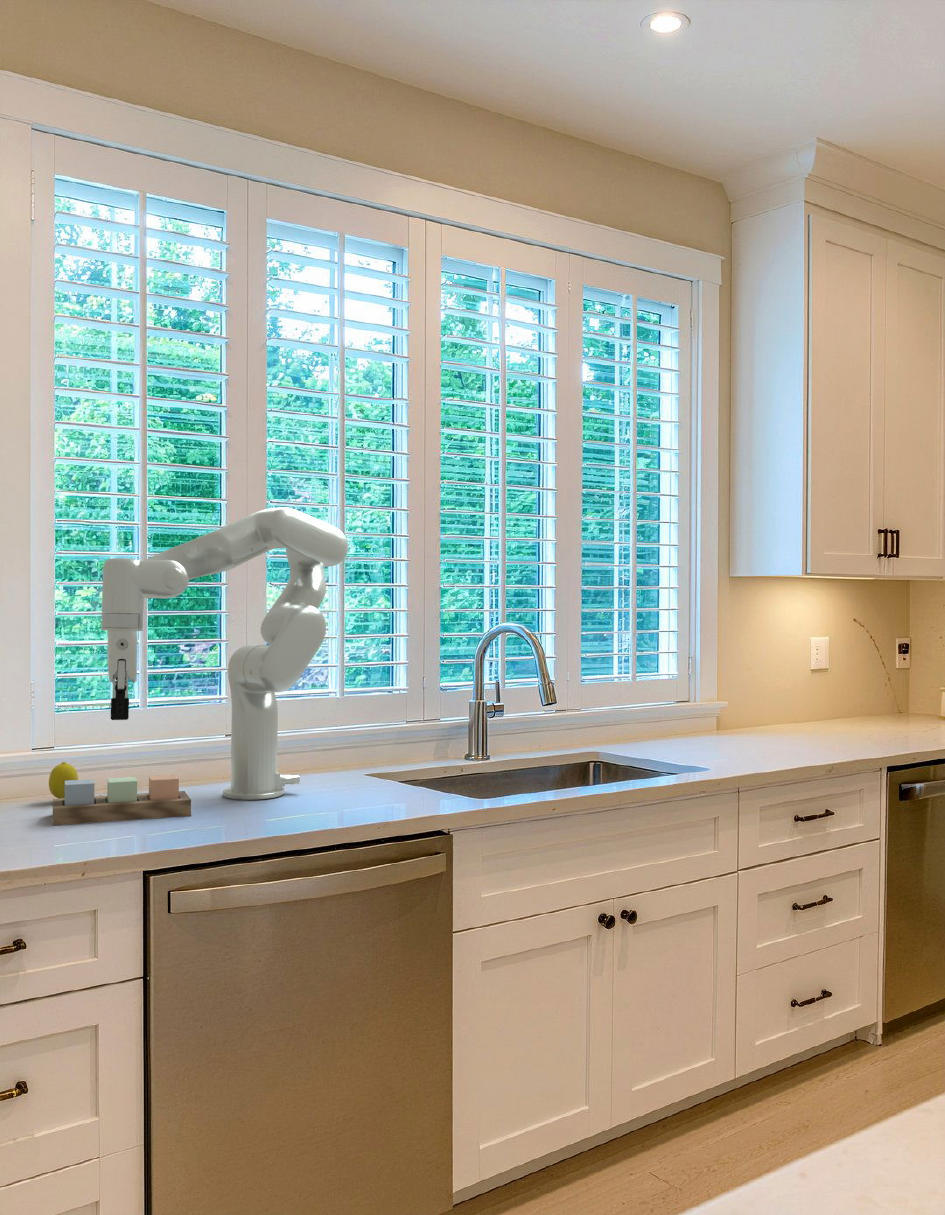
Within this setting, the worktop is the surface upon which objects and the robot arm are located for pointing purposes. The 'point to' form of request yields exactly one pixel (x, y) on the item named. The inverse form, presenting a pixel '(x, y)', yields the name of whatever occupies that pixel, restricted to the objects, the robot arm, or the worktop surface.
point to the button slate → (79, 792)
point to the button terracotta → (163, 787)
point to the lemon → (61, 778)
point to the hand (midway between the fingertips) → (119, 719)
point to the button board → (120, 809)
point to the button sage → (121, 789)
